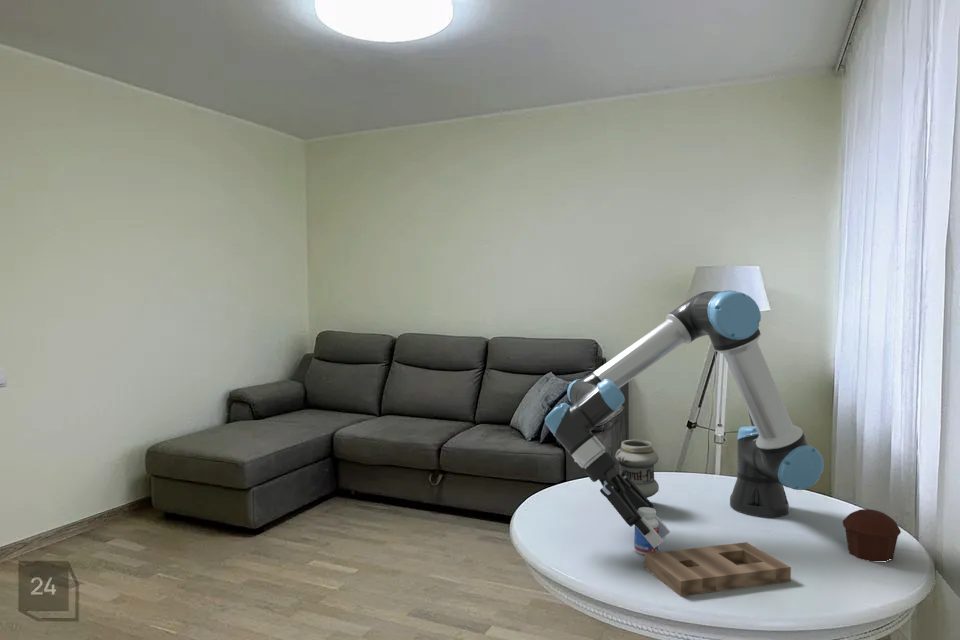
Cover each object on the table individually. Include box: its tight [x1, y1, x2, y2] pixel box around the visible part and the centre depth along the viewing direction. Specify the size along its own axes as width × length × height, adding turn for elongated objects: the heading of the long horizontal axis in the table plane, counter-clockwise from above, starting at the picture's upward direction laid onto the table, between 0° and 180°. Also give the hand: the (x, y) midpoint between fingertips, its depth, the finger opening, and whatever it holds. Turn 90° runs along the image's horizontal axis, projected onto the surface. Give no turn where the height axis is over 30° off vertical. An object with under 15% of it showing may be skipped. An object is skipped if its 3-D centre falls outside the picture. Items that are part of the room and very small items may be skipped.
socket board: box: [644, 541, 792, 597], centre depth 138 cm, size 26×14×3 cm, turn 105°
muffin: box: [842, 508, 902, 562], centre depth 149 cm, size 12×11×10 cm
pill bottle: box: [633, 507, 659, 556], centre depth 150 cm, size 6×5×10 cm
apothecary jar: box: [614, 439, 660, 512], centre depth 183 cm, size 12×12×18 cm
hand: (662, 539), depth 148 cm, fingers open, 6 cm apart
